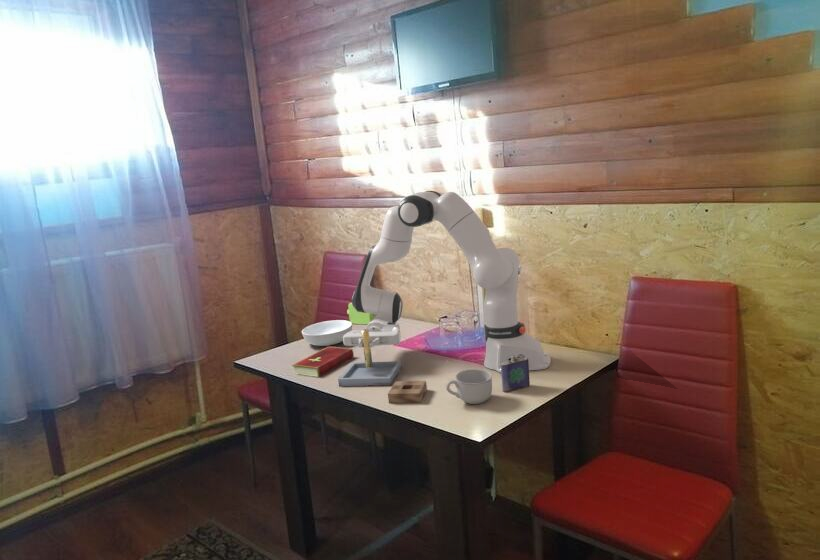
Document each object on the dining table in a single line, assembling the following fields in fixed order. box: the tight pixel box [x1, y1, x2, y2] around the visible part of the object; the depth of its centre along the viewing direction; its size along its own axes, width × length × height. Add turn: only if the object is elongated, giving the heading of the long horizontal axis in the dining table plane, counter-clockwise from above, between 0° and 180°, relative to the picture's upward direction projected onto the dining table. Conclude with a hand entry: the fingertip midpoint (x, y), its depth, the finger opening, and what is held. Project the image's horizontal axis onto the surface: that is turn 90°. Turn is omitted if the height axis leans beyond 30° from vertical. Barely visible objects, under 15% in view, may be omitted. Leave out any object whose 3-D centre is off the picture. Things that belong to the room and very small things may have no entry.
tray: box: [337, 360, 403, 387], centre depth 212 cm, size 18×16×2 cm
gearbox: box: [346, 302, 377, 325], centre depth 283 cm, size 18×10×10 cm, turn 64°
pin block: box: [387, 380, 428, 404], centre depth 192 cm, size 10×10×3 cm
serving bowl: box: [301, 319, 353, 347], centre depth 257 cm, size 21×21×7 cm
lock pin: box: [361, 328, 373, 368], centre depth 210 cm, size 2×2×13 cm
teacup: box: [445, 368, 493, 405], centre depth 183 cm, size 14×11×8 cm
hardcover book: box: [291, 346, 355, 378], centre depth 229 cm, size 12×21×4 cm, turn 148°
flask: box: [500, 354, 531, 393], centre depth 188 cm, size 9×3×11 cm, turn 110°
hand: (365, 345), depth 209 cm, fingers closed on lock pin, 2 cm apart
